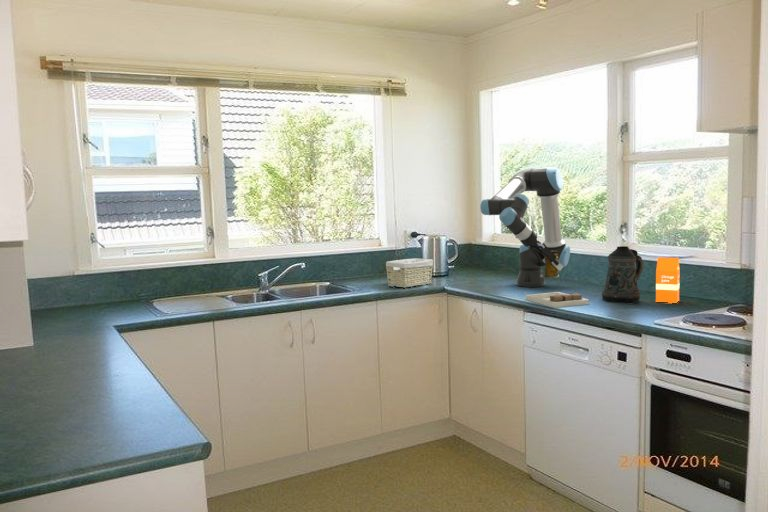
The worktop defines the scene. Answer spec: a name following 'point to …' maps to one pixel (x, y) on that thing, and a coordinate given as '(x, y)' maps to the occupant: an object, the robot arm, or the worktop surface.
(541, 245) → the robot arm
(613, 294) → the beer stein
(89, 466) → the worktop surface
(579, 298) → the block
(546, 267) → the condiment
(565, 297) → the block
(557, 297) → the block
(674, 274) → the orange juice
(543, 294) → the tray
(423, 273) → the storage basket
